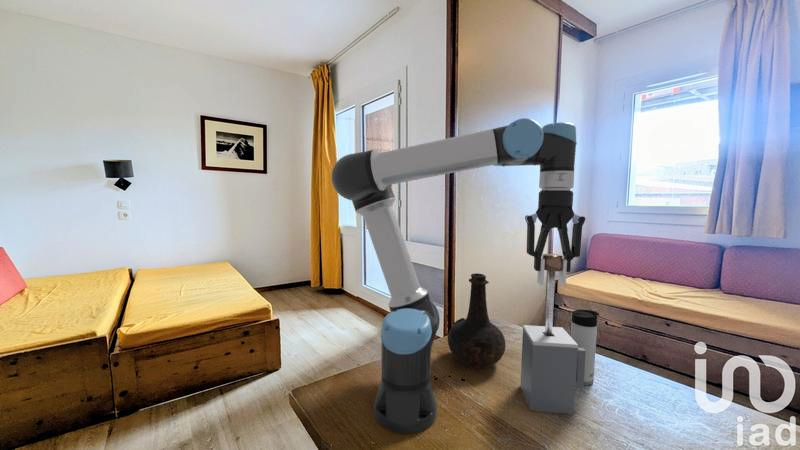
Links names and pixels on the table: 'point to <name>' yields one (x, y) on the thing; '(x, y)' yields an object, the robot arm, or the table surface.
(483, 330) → the glass bottle
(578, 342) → the travel mug
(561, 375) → the press
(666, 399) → the table surface
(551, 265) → the plunger
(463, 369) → the table surface
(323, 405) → the table surface
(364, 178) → the robot arm
